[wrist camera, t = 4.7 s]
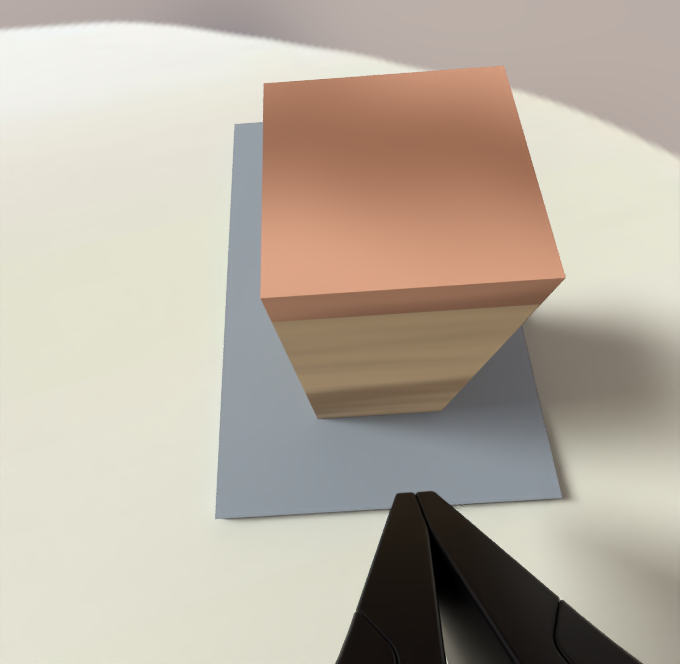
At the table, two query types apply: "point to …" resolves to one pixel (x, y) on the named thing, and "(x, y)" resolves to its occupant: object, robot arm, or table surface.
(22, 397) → the table surface
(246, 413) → the mat
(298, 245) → the oak block
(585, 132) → the table surface
